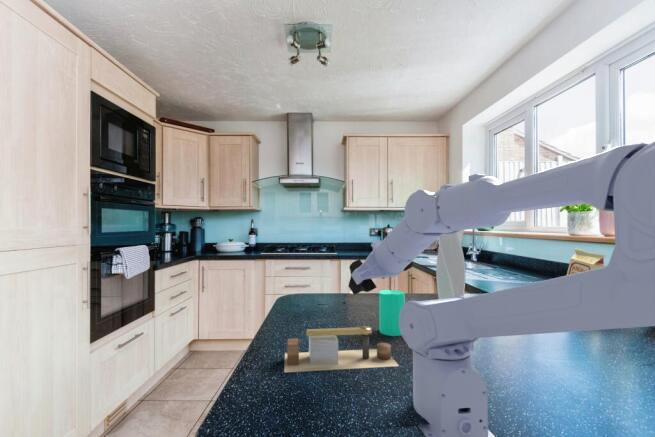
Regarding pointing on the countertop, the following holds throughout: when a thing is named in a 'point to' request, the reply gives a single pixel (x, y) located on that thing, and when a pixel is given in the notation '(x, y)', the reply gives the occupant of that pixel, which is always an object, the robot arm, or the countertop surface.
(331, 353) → the frosted white cube
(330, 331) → the lever
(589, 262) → the milk carton
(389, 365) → the wooden tray with blocks
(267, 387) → the countertop surface
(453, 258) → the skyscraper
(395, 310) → the candle
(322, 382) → the countertop surface
